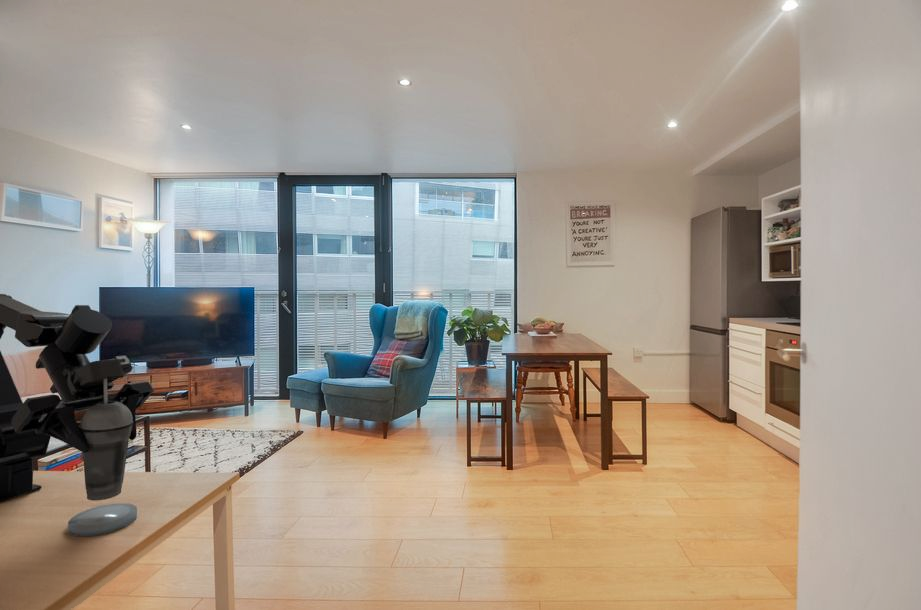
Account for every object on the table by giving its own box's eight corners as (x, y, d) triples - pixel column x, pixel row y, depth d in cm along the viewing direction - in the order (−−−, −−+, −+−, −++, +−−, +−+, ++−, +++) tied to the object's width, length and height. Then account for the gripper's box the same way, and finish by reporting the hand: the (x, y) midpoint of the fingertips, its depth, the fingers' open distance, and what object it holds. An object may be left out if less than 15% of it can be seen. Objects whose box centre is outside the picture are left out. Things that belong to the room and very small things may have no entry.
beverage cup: (87, 508, 70) (92, 380, 70) (67, 496, 74) (71, 375, 73) (139, 492, 76) (144, 374, 76) (118, 482, 80) (122, 370, 80)
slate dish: (53, 531, 72) (53, 523, 72) (110, 506, 80) (110, 499, 80) (95, 540, 69) (96, 532, 69) (149, 514, 78) (150, 507, 78)
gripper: (25, 345, 67) (69, 429, 64) (149, 338, 85) (189, 403, 81) (-8, 392, 70) (33, 474, 66) (119, 375, 88) (156, 440, 84)
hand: (111, 444), depth 74 cm, fingers closed on beverage cup, 7 cm apart
